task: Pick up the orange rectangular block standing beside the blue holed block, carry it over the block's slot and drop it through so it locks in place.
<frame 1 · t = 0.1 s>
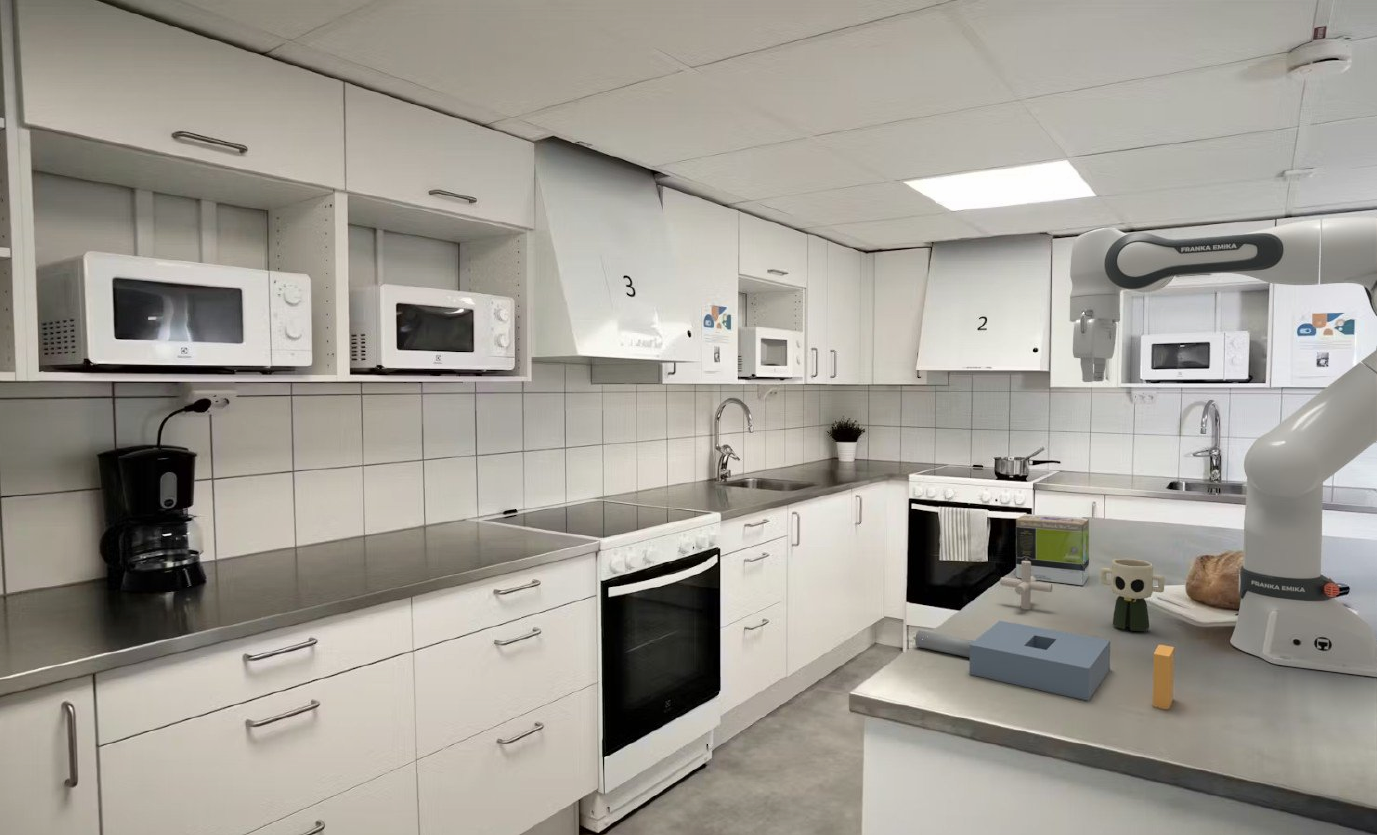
hand: (1093, 381, 158), 48 cm above the counter, fingers open, 8 cm apart
tea box: (1052, 579, 193), on the counter
orange rectangular block: (1163, 702, 119), on the counter
blue holed block: (1040, 671, 132), on the counter
pipe connector: (1025, 609, 168), on the counter
character mug: (1130, 629, 154), on the counter
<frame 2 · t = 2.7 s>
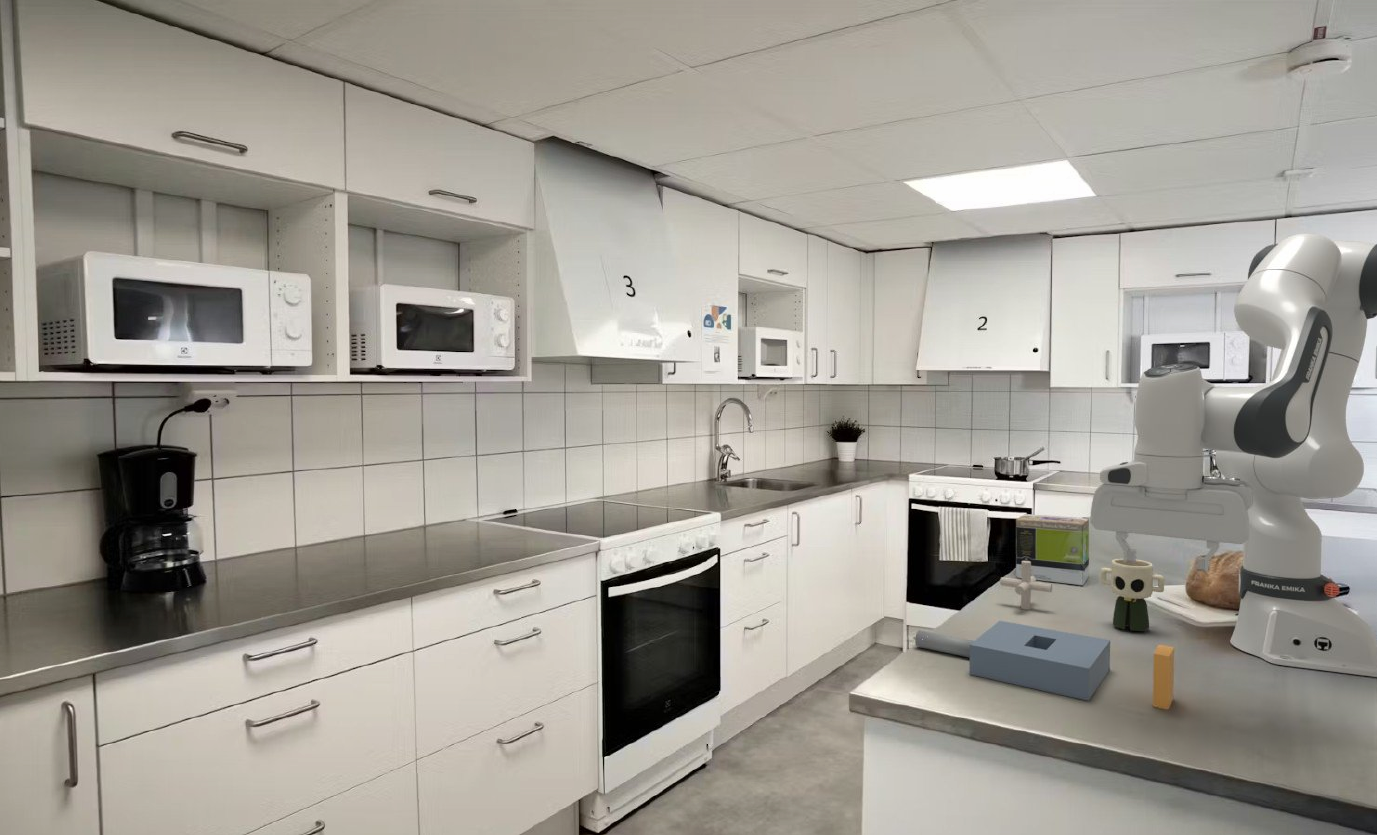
hand: (1165, 565, 118), 21 cm above the counter, fingers open, 8 cm apart
nothing on the counter moved.
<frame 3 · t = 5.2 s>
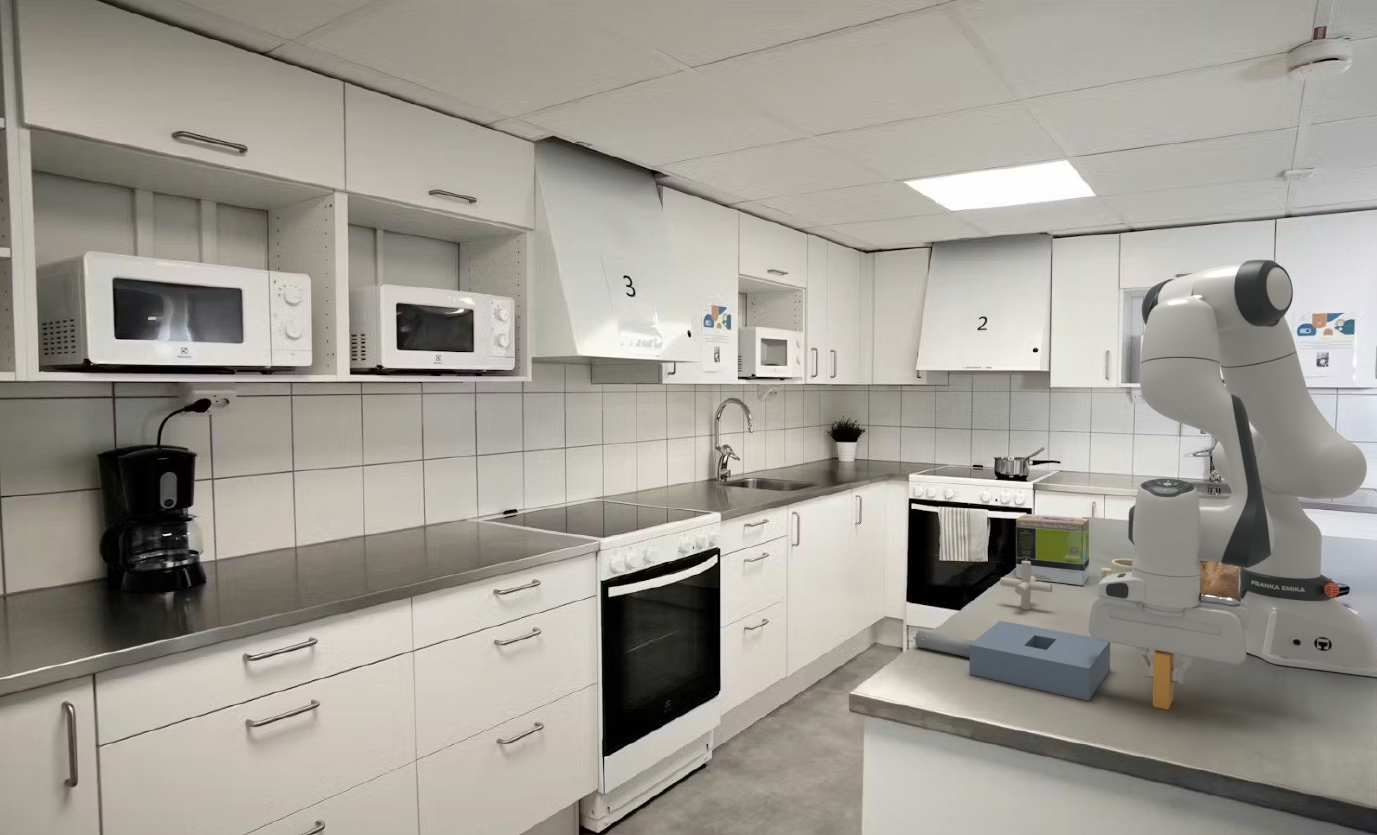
hand: (1163, 679, 119), 4 cm above the counter, fingers closed on orange rectangular block, 2 cm apart
orange rectangular block: (1163, 702, 119), on the counter, touching gripper
everything else where it was.
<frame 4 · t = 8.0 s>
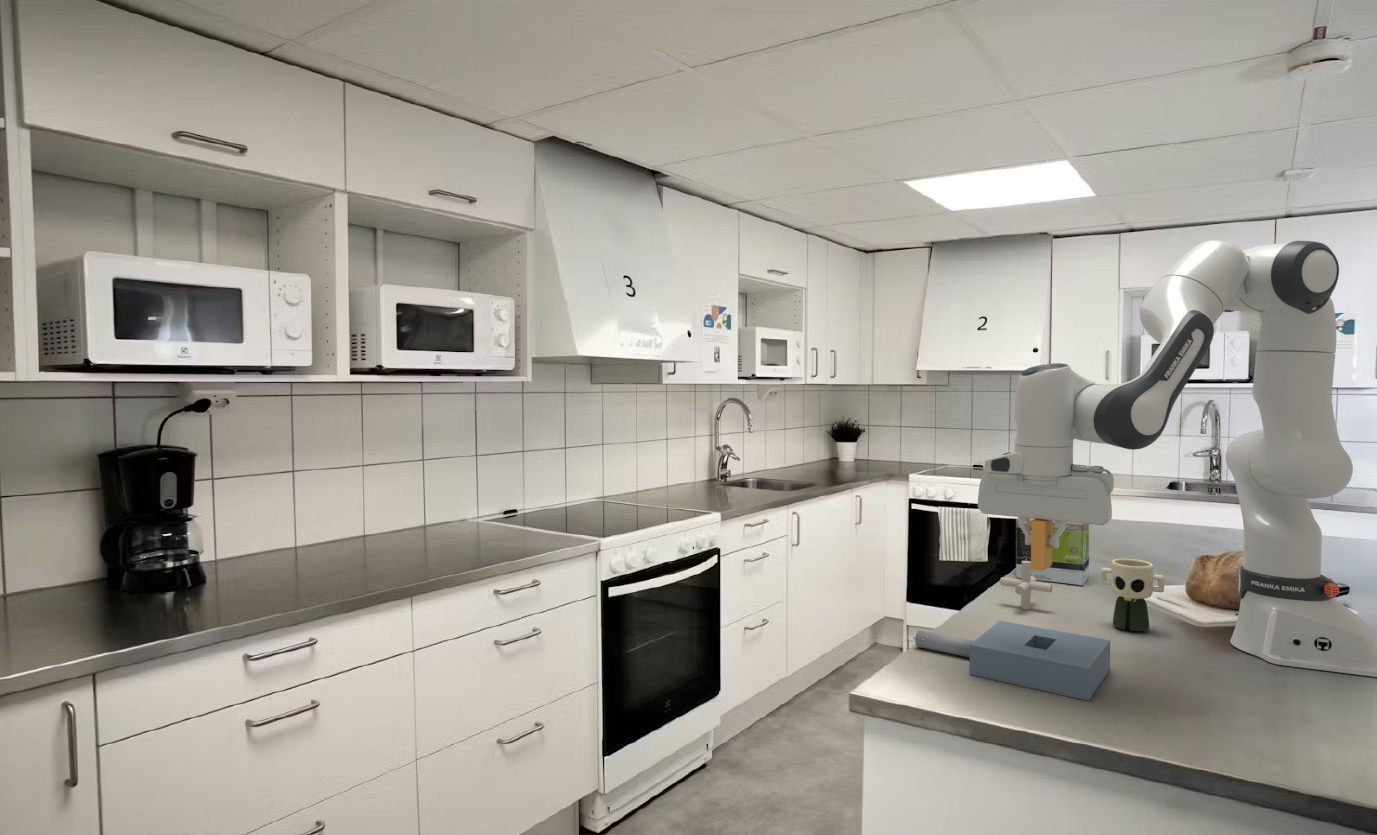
hand: (1041, 546, 131), 21 cm above the counter, fingers closed on orange rectangular block
orange rectangular block: (1041, 567, 131), point 18 cm above the counter, touching gripper
everything else where it was.
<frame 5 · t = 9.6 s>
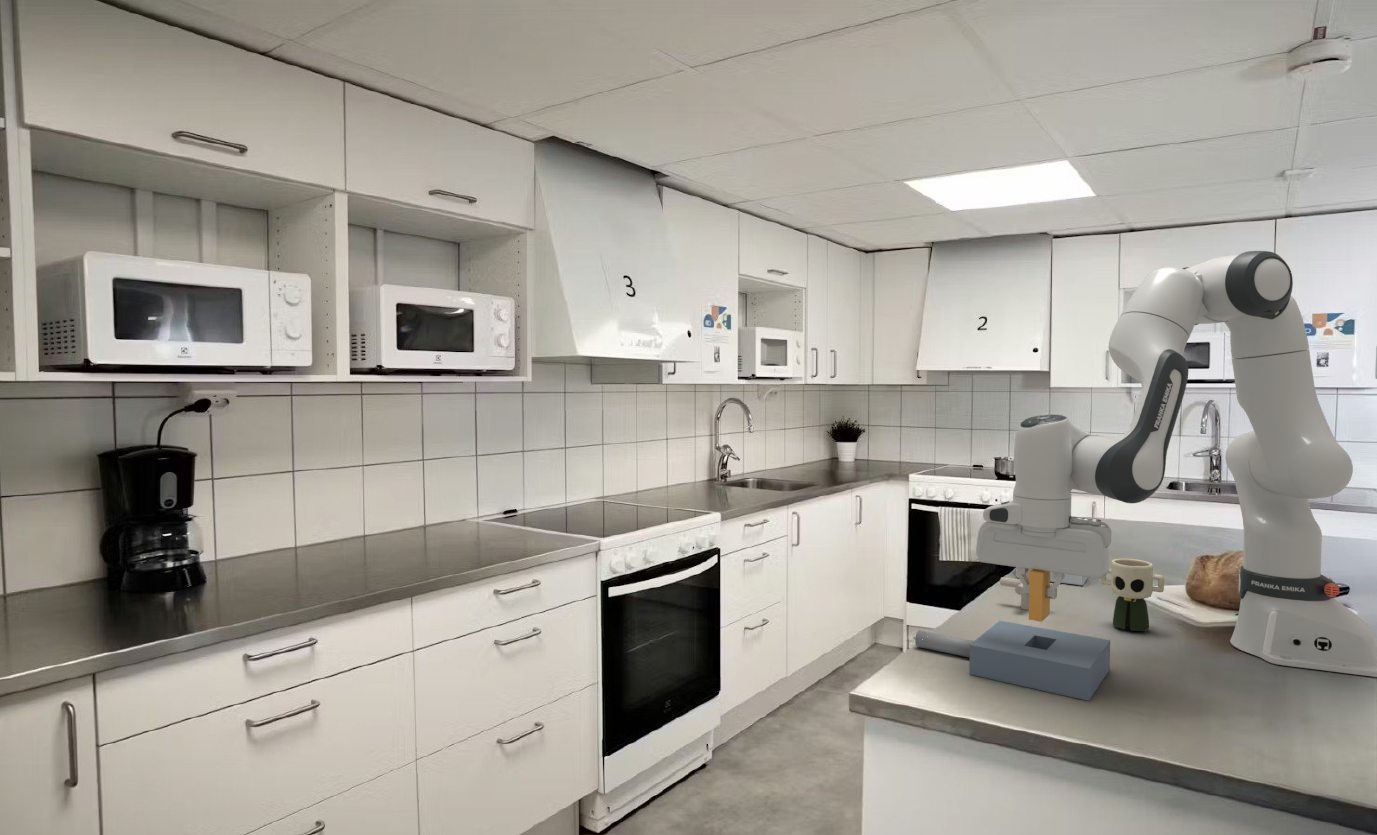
hand: (1039, 596, 131), 13 cm above the counter, fingers closed on orange rectangular block
orange rectangular block: (1039, 617, 132), point 9 cm above the counter, touching gripper
everything else where it was.
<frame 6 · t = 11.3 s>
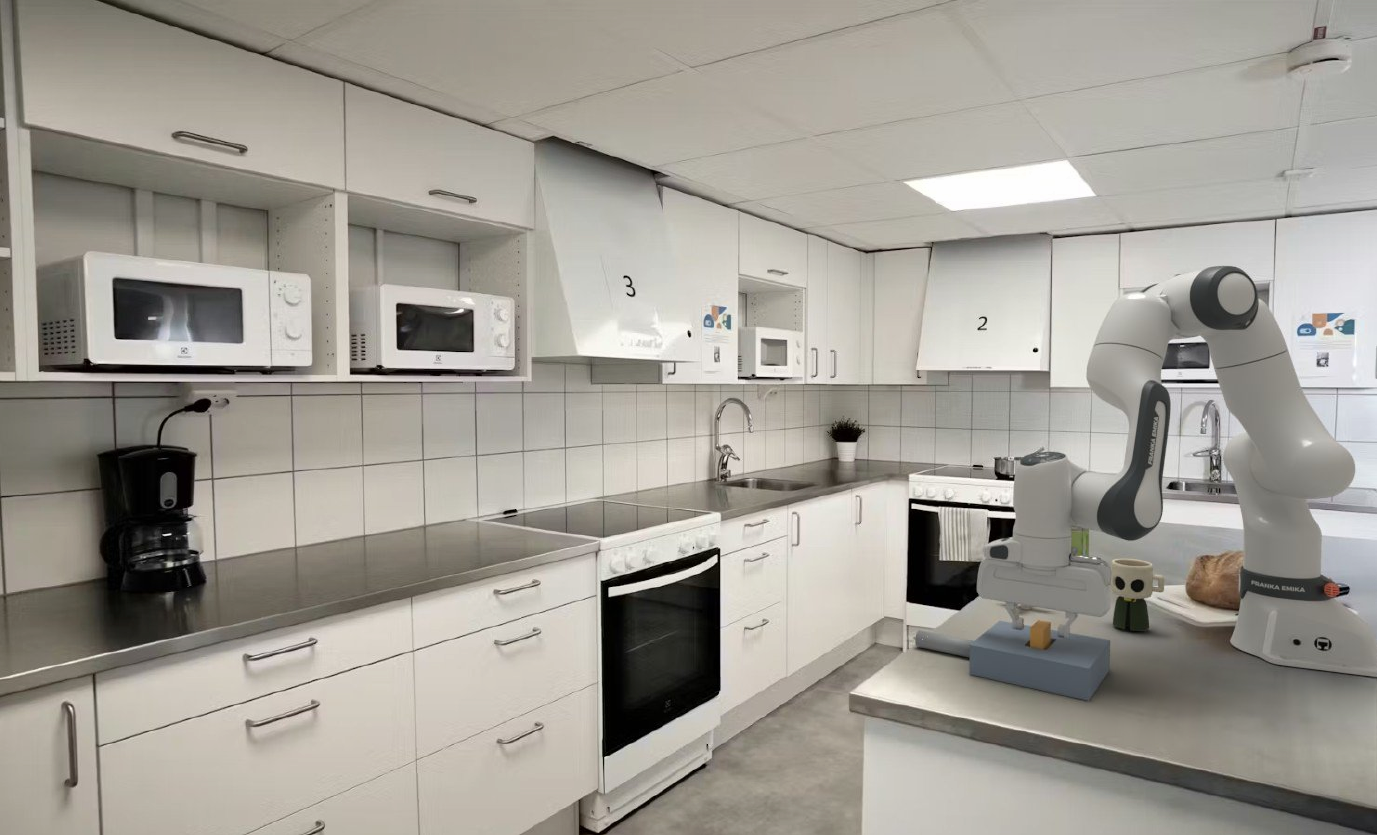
hand: (1040, 633, 132), 7 cm above the counter, fingers open, 6 cm apart
orange rectangular block: (1040, 672, 132), resting in blue holed block
everything else where it was.
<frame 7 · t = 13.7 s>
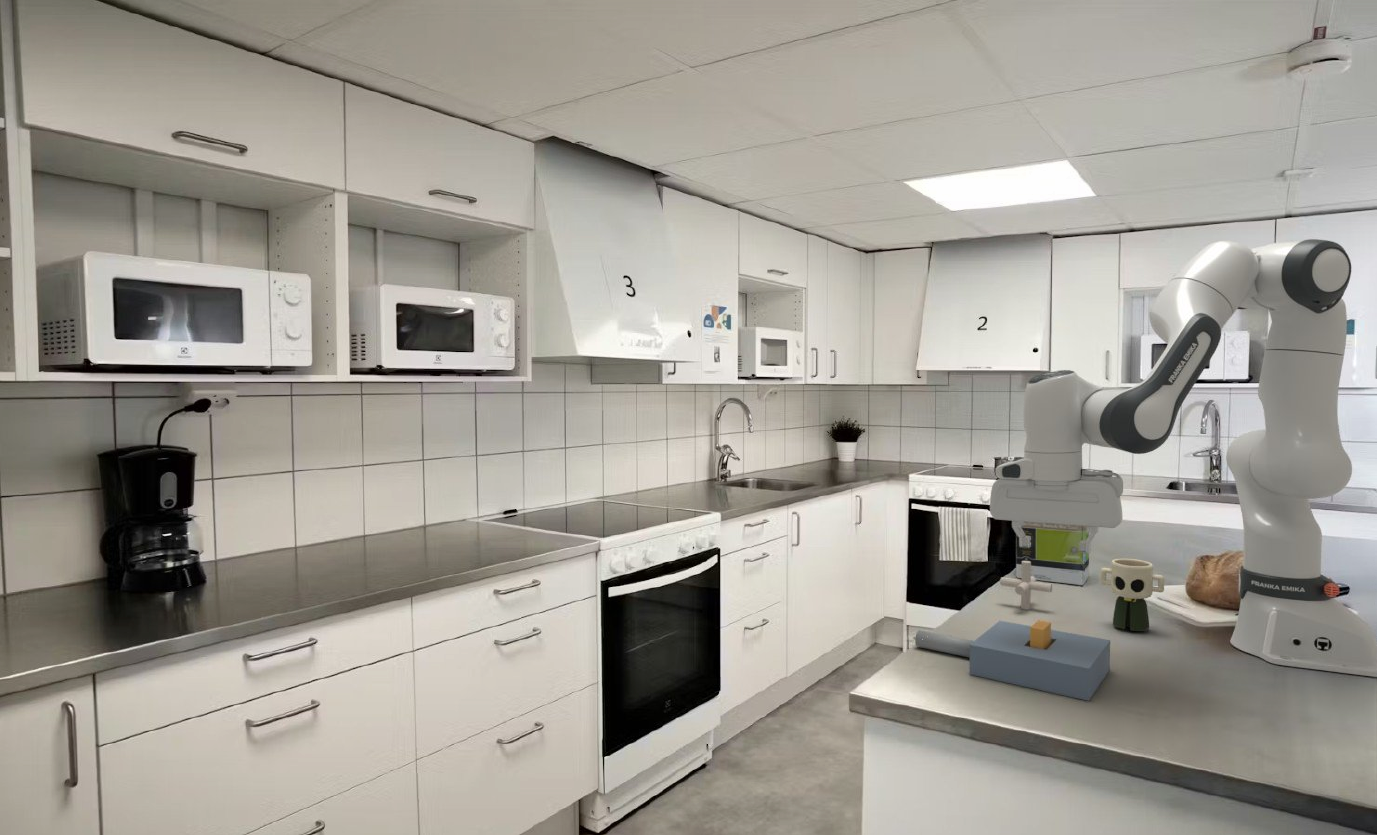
hand: (1054, 549, 133), 20 cm above the counter, fingers open, 8 cm apart
nothing on the counter moved.
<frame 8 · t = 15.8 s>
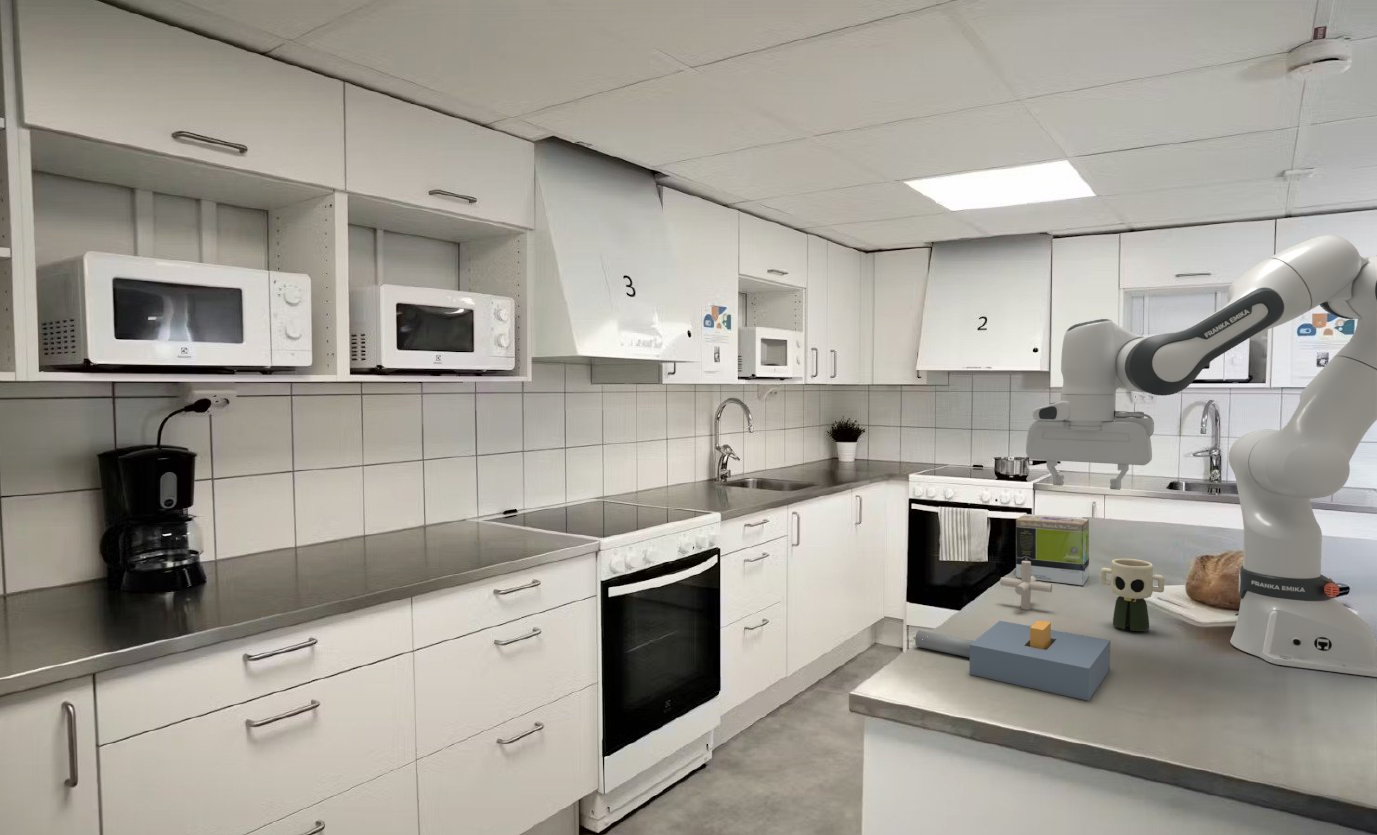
hand: (1086, 487, 143), 29 cm above the counter, fingers open, 8 cm apart
nothing on the counter moved.
at the end: orange rectangular block 0.0 cm off-centre on the blue holed block, point 0.0 cm above the blue holed block's base; orange rectangular block tilted 0°; the gripper is holding nothing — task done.
